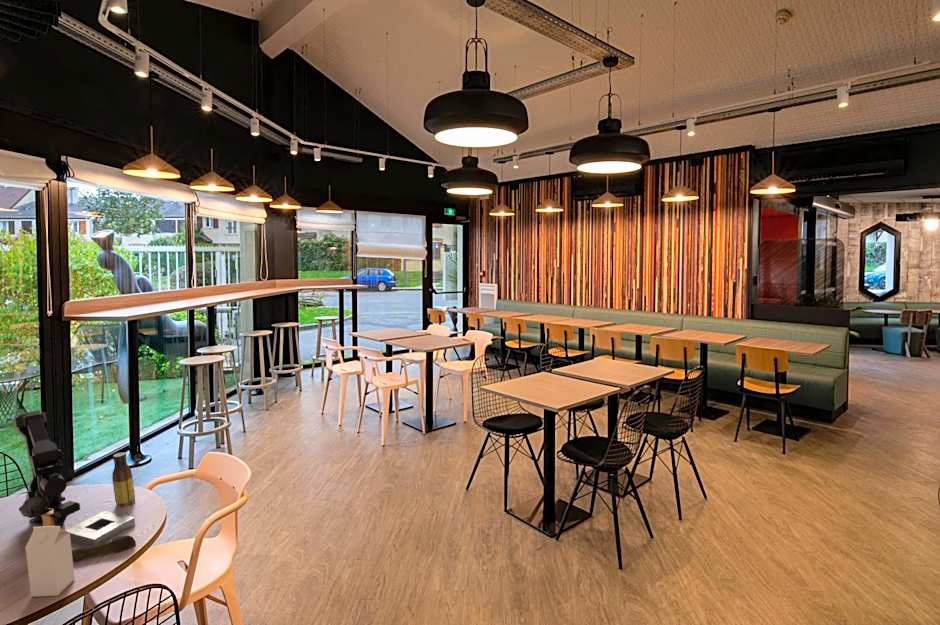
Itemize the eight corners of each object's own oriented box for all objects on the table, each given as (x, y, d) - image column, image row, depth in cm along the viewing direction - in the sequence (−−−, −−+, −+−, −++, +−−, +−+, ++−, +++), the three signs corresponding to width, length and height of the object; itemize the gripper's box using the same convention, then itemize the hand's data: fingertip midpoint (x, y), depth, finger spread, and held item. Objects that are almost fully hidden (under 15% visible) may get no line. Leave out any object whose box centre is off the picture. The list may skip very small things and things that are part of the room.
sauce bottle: (131, 498, 200) (127, 449, 198) (138, 502, 197) (134, 453, 194) (112, 504, 195) (107, 454, 192) (119, 510, 191) (114, 458, 189)
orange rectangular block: (44, 536, 174) (41, 514, 173) (57, 530, 178) (54, 508, 176) (52, 539, 173) (50, 516, 172) (65, 532, 176) (63, 510, 175)
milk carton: (49, 580, 152) (42, 520, 149) (75, 579, 153) (68, 519, 150) (31, 597, 145) (23, 534, 142) (58, 596, 146) (51, 533, 143)
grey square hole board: (64, 539, 172) (63, 531, 172) (105, 518, 186) (104, 510, 185) (95, 547, 168) (94, 539, 168) (134, 525, 181) (134, 517, 181)
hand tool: (61, 567, 158) (59, 553, 158) (64, 560, 162) (63, 546, 161) (134, 552, 167) (133, 538, 166) (136, 545, 170) (135, 532, 169)
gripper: (2, 492, 168) (8, 537, 170) (42, 501, 162) (48, 547, 164) (40, 477, 178) (44, 519, 181) (79, 485, 173) (83, 529, 175)
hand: (54, 529), depth 175 cm, fingers closed on orange rectangular block, 4 cm apart
